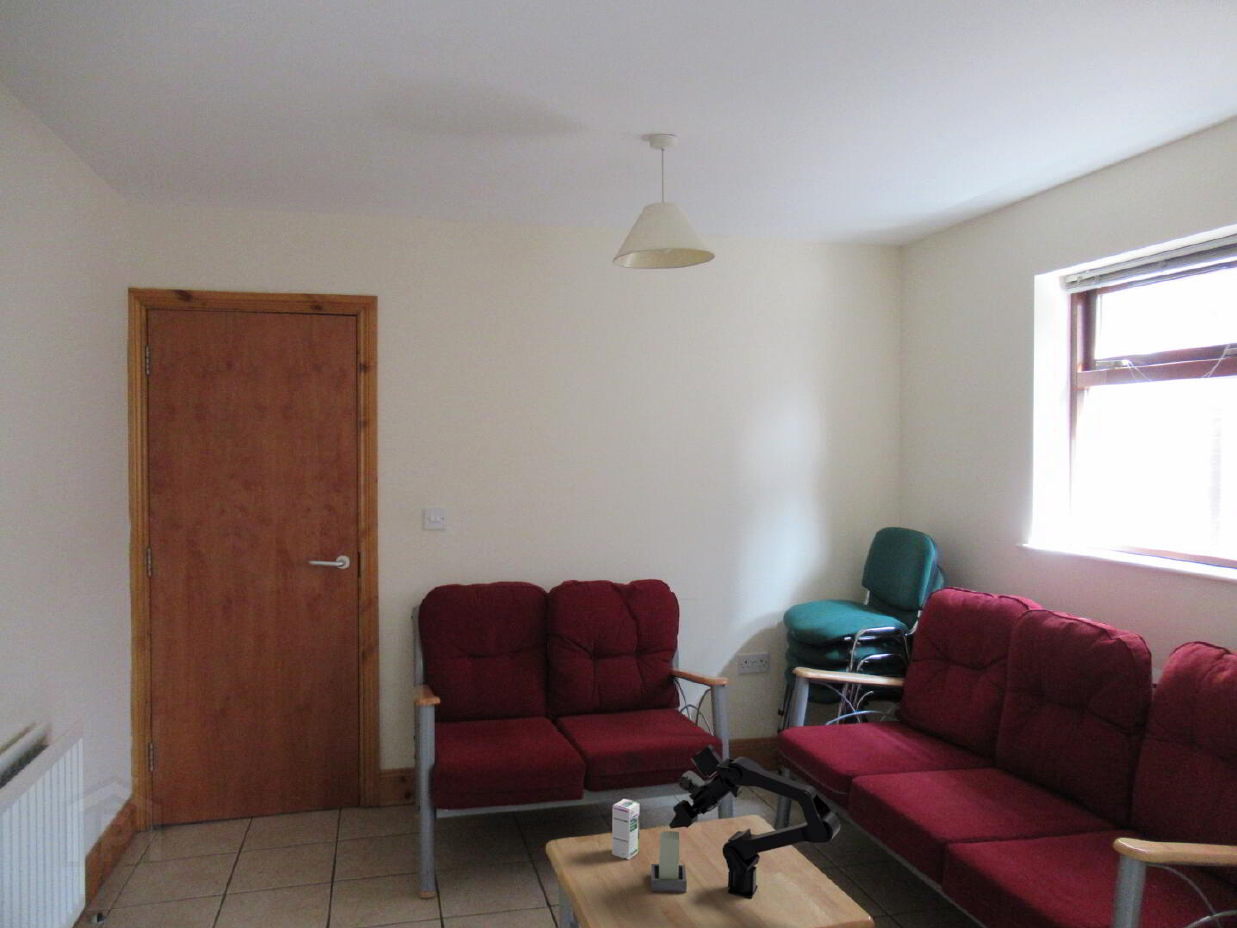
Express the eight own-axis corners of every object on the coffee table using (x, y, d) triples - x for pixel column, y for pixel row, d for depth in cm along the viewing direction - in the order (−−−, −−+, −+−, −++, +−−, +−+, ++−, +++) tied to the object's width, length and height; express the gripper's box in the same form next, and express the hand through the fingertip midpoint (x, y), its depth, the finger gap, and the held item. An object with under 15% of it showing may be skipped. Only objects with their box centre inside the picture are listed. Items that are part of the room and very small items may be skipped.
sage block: (677, 879, 240) (678, 831, 240) (678, 888, 235) (679, 839, 235) (658, 878, 240) (660, 830, 240) (659, 887, 235) (660, 838, 235)
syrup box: (628, 860, 251) (630, 808, 250) (611, 854, 254) (612, 803, 253) (639, 852, 255) (640, 802, 255) (621, 847, 259) (623, 797, 258)
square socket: (684, 875, 242) (684, 864, 242) (686, 892, 233) (686, 881, 233) (650, 874, 242) (651, 863, 242) (651, 891, 233) (651, 879, 233)
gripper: (713, 755, 250) (677, 785, 256) (680, 774, 234) (643, 806, 240) (738, 789, 246) (701, 819, 252) (706, 811, 230) (668, 843, 236)
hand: (678, 820), depth 245 cm, fingers open, 9 cm apart
